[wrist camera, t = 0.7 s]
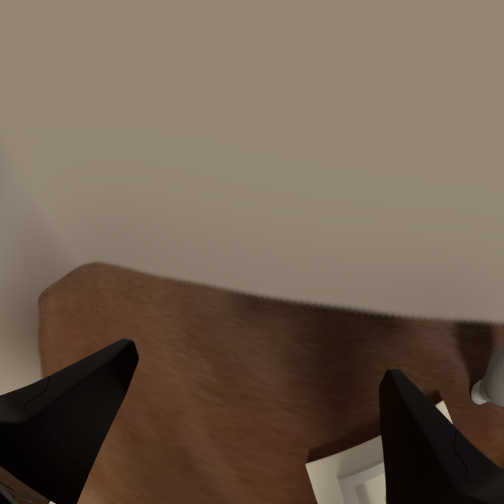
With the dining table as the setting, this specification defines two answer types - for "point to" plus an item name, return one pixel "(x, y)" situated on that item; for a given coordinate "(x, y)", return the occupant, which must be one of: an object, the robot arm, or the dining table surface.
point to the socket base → (353, 473)
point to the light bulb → (491, 381)
